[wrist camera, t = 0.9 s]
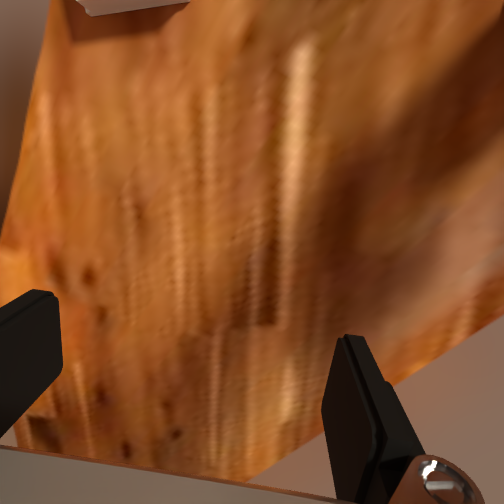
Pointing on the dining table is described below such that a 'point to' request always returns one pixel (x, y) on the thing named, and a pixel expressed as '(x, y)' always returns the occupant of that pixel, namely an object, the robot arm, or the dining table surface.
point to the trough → (122, 5)
